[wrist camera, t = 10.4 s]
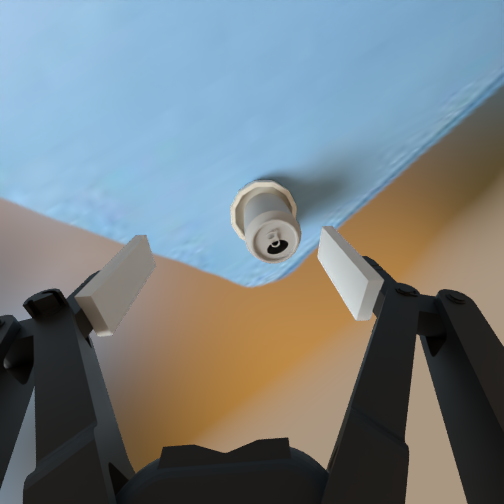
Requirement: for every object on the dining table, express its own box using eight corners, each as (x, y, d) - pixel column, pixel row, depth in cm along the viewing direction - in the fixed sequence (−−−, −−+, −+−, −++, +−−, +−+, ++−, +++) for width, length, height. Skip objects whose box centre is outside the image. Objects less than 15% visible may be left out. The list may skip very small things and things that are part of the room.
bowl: (229, 180, 35) (229, 182, 32) (295, 179, 35) (299, 181, 33) (233, 240, 40) (232, 246, 38) (290, 238, 40) (293, 244, 38)
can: (255, 239, 39) (261, 276, 29) (235, 204, 36) (234, 232, 25) (292, 221, 38) (312, 253, 27) (275, 183, 34) (291, 203, 24)
